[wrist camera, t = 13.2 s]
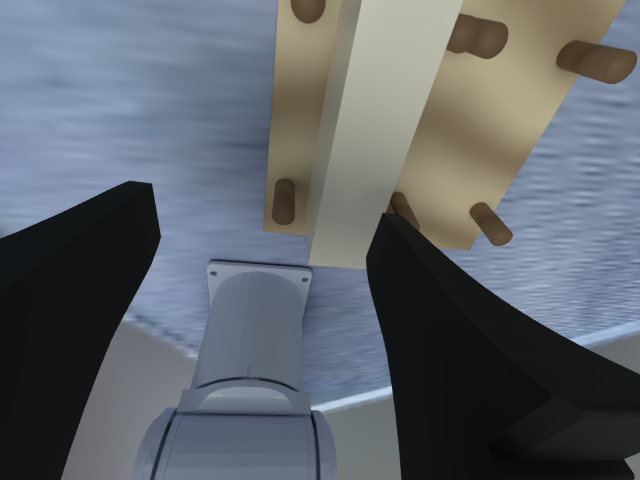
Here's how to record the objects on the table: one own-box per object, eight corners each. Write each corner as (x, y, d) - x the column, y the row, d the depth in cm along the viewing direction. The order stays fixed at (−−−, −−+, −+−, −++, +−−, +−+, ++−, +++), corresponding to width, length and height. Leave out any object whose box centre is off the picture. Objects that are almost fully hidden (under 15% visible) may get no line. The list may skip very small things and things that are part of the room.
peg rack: (462, 240, 24) (488, 280, 20) (264, 220, 21) (259, 262, 18) (625, -35, 14) (726, -41, 11) (288, -127, 11) (286, -170, 8)
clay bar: (351, 214, 20) (364, 269, 16) (305, 209, 20) (307, 265, 16) (419, -25, 13) (474, -29, 9) (348, -42, 12) (373, -55, 8)
